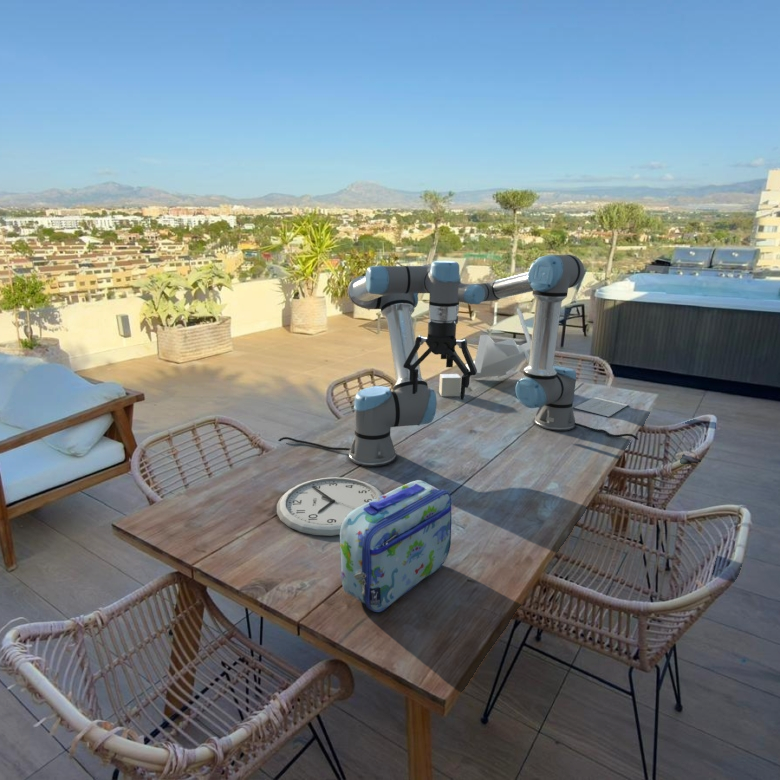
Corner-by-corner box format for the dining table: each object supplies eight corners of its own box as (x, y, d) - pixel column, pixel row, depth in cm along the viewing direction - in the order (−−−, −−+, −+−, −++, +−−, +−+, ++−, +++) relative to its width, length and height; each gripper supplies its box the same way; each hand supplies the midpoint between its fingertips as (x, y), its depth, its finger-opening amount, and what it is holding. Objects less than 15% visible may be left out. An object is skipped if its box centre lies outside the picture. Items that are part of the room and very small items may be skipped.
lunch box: (369, 626, 100) (370, 530, 93) (334, 598, 107) (332, 507, 101) (455, 567, 117) (460, 483, 111) (419, 547, 124) (423, 467, 118)
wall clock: (392, 527, 129) (268, 531, 127) (391, 533, 130) (269, 537, 127) (383, 473, 158) (282, 475, 155) (383, 478, 158) (282, 480, 156)
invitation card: (608, 416, 214) (573, 407, 224) (608, 416, 214) (573, 408, 224) (628, 404, 229) (594, 396, 238) (628, 405, 229) (594, 397, 238)
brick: (457, 391, 243) (458, 373, 241) (460, 396, 237) (461, 377, 235) (439, 392, 243) (439, 373, 240) (441, 396, 237) (442, 377, 234)
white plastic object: (486, 420, 263) (466, 398, 238) (467, 347, 285) (447, 319, 261) (558, 397, 251) (544, 370, 226) (532, 322, 273) (517, 290, 248)
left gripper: (393, 319, 140) (392, 394, 147) (487, 326, 133) (481, 404, 140) (401, 314, 147) (399, 386, 154) (490, 321, 140) (484, 396, 147)
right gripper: (435, 309, 231) (433, 355, 238) (445, 319, 208) (442, 370, 214) (452, 309, 232) (449, 355, 238) (464, 319, 208) (460, 370, 215)
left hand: (438, 395), depth 147 cm, fingers open, 13 cm apart
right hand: (446, 363), depth 226 cm, fingers open, 13 cm apart
